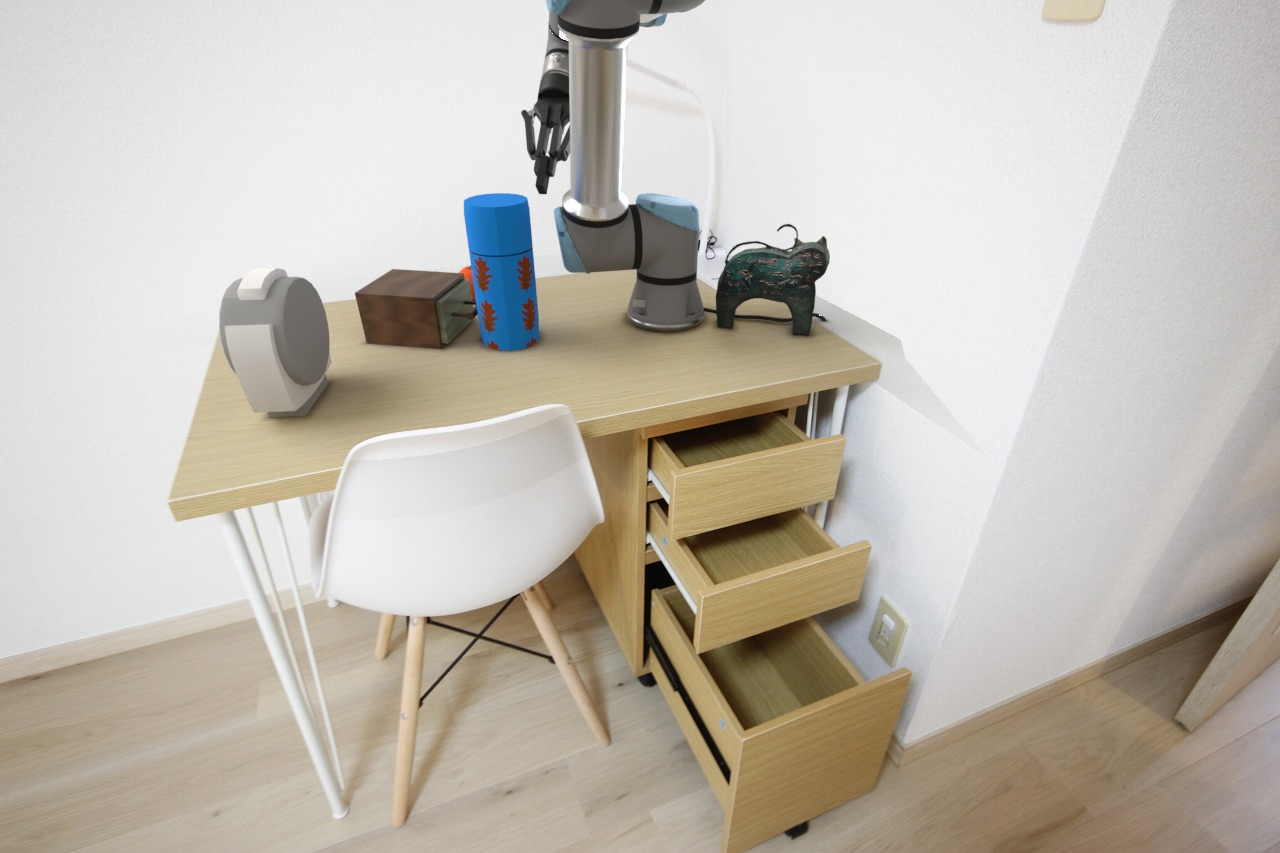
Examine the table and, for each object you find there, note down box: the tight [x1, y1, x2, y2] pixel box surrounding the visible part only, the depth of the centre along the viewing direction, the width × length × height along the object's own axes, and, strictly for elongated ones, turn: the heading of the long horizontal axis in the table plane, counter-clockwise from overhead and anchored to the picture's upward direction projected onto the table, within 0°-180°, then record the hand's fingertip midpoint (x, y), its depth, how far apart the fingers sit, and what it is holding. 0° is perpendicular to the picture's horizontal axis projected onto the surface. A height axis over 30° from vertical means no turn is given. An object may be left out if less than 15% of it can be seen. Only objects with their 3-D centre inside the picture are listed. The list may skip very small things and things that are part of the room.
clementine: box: [458, 265, 476, 301], centre depth 136 cm, size 8×7×7 cm
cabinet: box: [354, 268, 465, 350], centre depth 120 cm, size 15×14×10 cm
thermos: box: [463, 192, 540, 352], centre depth 113 cm, size 11×11×25 cm
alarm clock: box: [218, 267, 332, 418], centre depth 95 cm, size 18×8×20 cm, turn 5°
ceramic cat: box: [715, 223, 831, 337], centre depth 119 cm, size 20×6×20 cm, turn 77°
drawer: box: [435, 279, 478, 344], centre depth 120 cm, size 18×12×8 cm
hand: (541, 189), depth 122 cm, fingers closed
